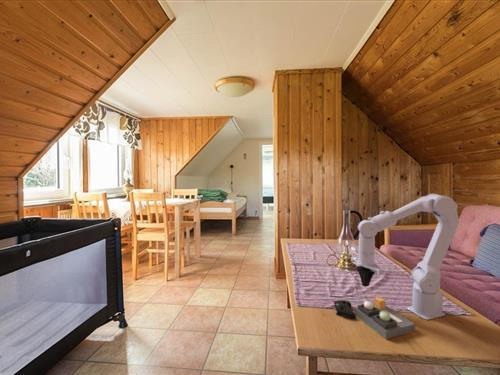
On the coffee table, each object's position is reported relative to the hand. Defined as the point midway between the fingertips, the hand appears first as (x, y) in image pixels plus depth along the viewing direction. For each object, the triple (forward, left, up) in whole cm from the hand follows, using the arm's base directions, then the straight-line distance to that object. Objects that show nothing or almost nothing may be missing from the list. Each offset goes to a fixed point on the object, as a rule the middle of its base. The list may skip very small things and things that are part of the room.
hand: (365, 285), depth 96 cm
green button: (+5, +15, -4) cm, 16 cm away
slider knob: (0, +7, -5) cm, 9 cm away
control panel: (+2, +11, -8) cm, 14 cm away
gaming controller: (+11, +1, -8) cm, 14 cm away
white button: (+5, +8, -4) cm, 10 cm away
